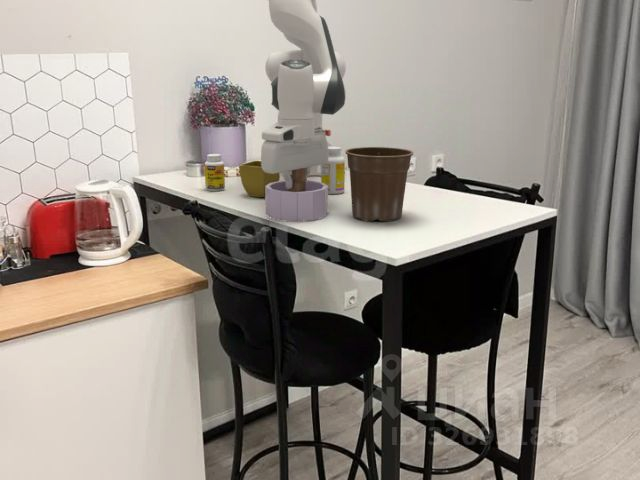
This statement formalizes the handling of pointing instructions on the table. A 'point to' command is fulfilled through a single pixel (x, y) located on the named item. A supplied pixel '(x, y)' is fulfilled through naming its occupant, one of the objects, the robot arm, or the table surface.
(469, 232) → the table surface
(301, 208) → the lilac round bowl
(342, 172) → the supplement bottle
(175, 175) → the table surface
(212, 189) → the supplement bottle
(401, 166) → the plant pot
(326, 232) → the table surface
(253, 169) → the flower pot
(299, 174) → the brown wooden block
